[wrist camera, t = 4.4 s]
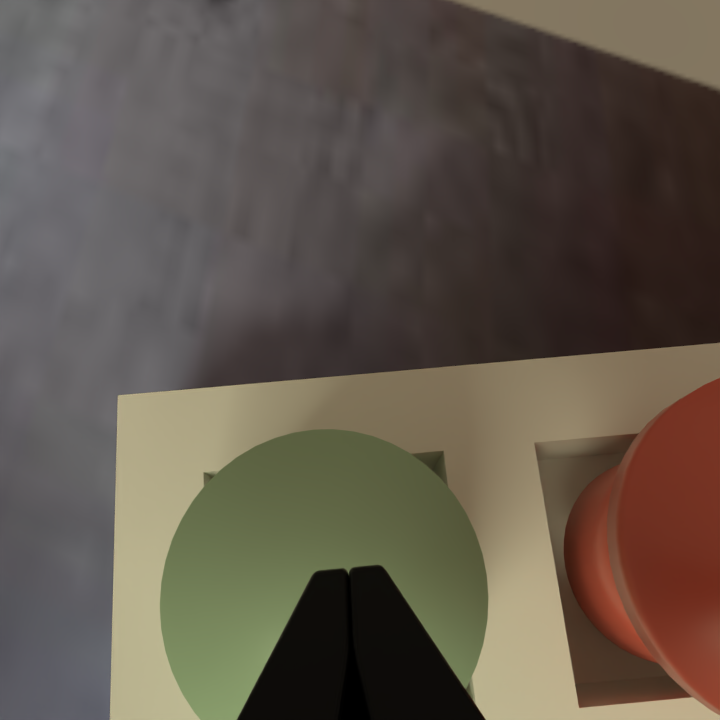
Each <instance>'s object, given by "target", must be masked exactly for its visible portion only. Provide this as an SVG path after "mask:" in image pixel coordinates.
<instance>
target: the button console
mask: <svg viewBox="0 0 720 720" xmlns="http://www.w3.org/2000/svg"><path fill="white" fill-rule="evenodd" d="M718 378H720V343H712V344H701V345H689V346H678V347H666V348H655V349H644V350H632V351H621V352H609V353H598V354H586V355H575V356H564V357H552V358H541V359H529V360H518V361H506V362H495V363H483V364H472V365H461V366H449V367H438V368H426V369H415V370H403V371H392V372H381V373H369V374H358V375H346V376H335V377H323V378H312V379H300V380H289V381H278V382H266V383H255V384H243V385H232V386H220V387H209V388H198V389H186V390H175V391H163V392H152V393H140V394H129V395H118V413H117V453H116V494H115V535H114V575H113V616H112V657H111V697H110V720H200V719H199V717H198V716H197V715H196V714H195V713H194V711H193V710H192V708H191V706H190V705H189V703H188V702H187V700H186V699H185V697H184V696H183V694H182V692H181V690H180V688H179V686H178V684H177V682H176V680H175V677H174V675H173V673H172V670H171V667H170V664H169V661H168V658H167V655H166V652H165V647H164V641H163V636H162V631H161V619H160V593H161V581H162V576H163V571H164V565H165V560H166V557H167V554H168V551H169V548H170V545H171V541H172V539H173V536H174V534H175V532H176V530H177V528H178V526H179V523H180V521H181V519H182V517H183V516H184V514H185V513H186V511H187V509H188V508H189V506H190V504H191V503H192V501H193V500H194V499H195V497H196V496H197V495H198V494H199V492H200V491H201V490H202V489H203V487H204V486H205V485H206V484H207V483H208V482H209V481H210V480H211V479H212V478H213V477H214V476H215V475H216V474H217V473H218V472H219V471H220V470H221V469H222V468H223V467H225V466H226V465H227V464H229V463H230V462H231V461H233V460H234V459H235V458H236V457H238V456H240V455H241V454H243V453H245V452H246V451H248V450H250V449H251V448H253V447H255V446H257V445H259V444H262V443H264V442H266V441H269V440H271V439H273V438H277V437H280V436H283V435H287V434H290V433H294V432H301V431H307V430H319V429H336V430H346V431H354V432H358V433H362V434H367V435H371V436H374V437H377V438H379V439H382V440H384V441H387V442H390V443H392V444H394V445H396V446H398V447H399V448H401V449H403V450H405V451H407V452H409V453H410V454H412V455H413V456H414V457H416V458H417V459H419V460H420V461H421V462H423V463H424V464H426V465H427V466H428V467H429V468H430V469H431V470H432V471H433V472H434V473H435V474H436V475H438V476H439V477H440V478H441V479H442V481H443V482H444V483H445V484H446V485H447V487H448V488H449V489H450V490H451V491H452V492H453V494H454V495H455V496H456V498H457V500H458V501H459V503H460V504H461V506H462V507H463V509H464V510H465V512H466V514H467V516H468V518H469V520H470V522H471V524H472V526H473V528H474V531H475V533H476V536H477V539H478V542H479V545H480V548H481V551H482V554H483V559H484V564H485V569H486V574H487V584H488V598H489V599H488V619H487V626H486V632H485V638H484V643H483V647H482V650H481V653H480V656H479V660H478V663H477V666H476V668H475V671H474V673H473V675H472V677H471V679H470V682H469V684H468V686H467V688H466V691H467V692H468V694H469V695H470V697H471V698H472V700H473V701H474V703H475V704H476V706H477V707H478V709H479V710H480V712H481V713H482V715H483V716H484V718H485V719H486V720H720V715H718V714H716V713H715V712H713V711H711V710H710V709H708V708H707V707H706V706H704V705H703V704H702V703H700V702H699V701H697V700H696V699H695V698H693V697H692V696H691V695H689V694H688V693H687V692H686V691H685V690H684V689H683V688H682V687H681V686H680V685H678V684H677V683H676V682H675V681H674V680H673V679H672V678H671V677H670V676H669V675H668V674H667V673H666V672H665V670H664V669H663V668H662V667H661V666H660V665H659V664H658V663H654V662H651V661H648V660H644V659H642V658H639V657H637V656H635V655H632V654H630V653H628V652H627V651H625V650H623V649H621V648H619V647H618V646H617V645H615V644H614V643H613V642H611V641H610V640H609V639H607V638H606V637H605V636H604V635H603V634H602V633H601V632H600V631H599V630H598V629H597V628H596V627H595V626H594V625H593V624H592V622H591V621H590V620H589V619H588V618H587V616H586V615H585V613H584V612H583V610H582V609H581V607H580V606H579V604H578V602H577V600H576V598H575V596H574V594H573V591H572V589H571V586H570V583H569V581H568V577H567V573H566V568H565V561H564V535H565V528H566V524H567V521H568V517H569V514H570V512H571V510H572V507H573V505H574V503H575V502H576V500H577V498H578V497H579V495H580V494H581V492H582V491H583V490H584V489H585V488H586V486H587V485H588V484H589V483H590V482H592V481H593V480H594V479H595V478H596V477H597V476H599V475H600V474H602V473H603V472H605V471H606V470H608V469H610V468H612V467H615V466H617V465H619V464H621V461H622V459H623V457H624V455H625V453H626V452H627V450H628V448H629V447H630V445H631V444H632V442H633V440H634V439H635V438H636V436H637V435H638V434H639V433H640V432H641V430H642V429H643V428H644V427H645V426H646V425H647V423H648V422H650V421H651V420H652V419H653V418H654V417H655V416H656V415H658V414H659V413H660V412H661V411H662V410H664V409H665V408H667V407H668V406H670V405H671V404H673V403H674V402H676V401H678V400H679V399H681V398H683V397H684V396H686V395H688V394H689V393H691V392H693V391H695V390H696V389H698V388H700V387H701V386H703V385H705V384H707V383H709V382H712V381H714V380H716V379H718Z"/></svg>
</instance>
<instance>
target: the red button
mask: <svg viewBox="0 0 720 720" xmlns="http://www.w3.org/2000/svg"><path fill="white" fill-rule="evenodd" d="M564 561H565V568H566V573H567V577H568V581H569V583H570V586H571V589H572V591H573V594H574V596H575V598H576V600H577V602H578V604H579V606H580V607H581V609H582V610H583V612H584V613H585V615H586V616H587V618H588V619H589V620H590V621H591V622H592V624H593V625H594V626H595V627H596V628H597V629H598V630H599V631H600V632H601V633H602V634H603V635H604V636H605V637H606V638H607V639H609V640H610V641H611V642H613V643H614V644H615V645H617V646H618V647H619V648H621V649H623V650H625V651H627V652H628V653H630V654H632V655H635V656H637V657H639V658H642V659H644V660H648V661H651V662H654V663H658V664H659V665H660V666H661V667H662V668H663V669H664V670H665V672H666V673H667V674H668V675H669V676H670V677H671V678H672V679H673V680H674V681H675V682H676V683H677V684H678V685H680V686H681V687H682V688H683V689H684V690H685V691H686V692H687V693H688V694H689V695H691V696H692V697H693V698H695V699H696V700H697V701H699V702H700V703H702V704H703V705H704V706H706V707H707V708H708V709H710V710H711V711H713V712H715V713H716V714H718V715H720V378H718V379H716V380H714V381H712V382H709V383H707V384H705V385H703V386H701V387H700V388H698V389H696V390H695V391H693V392H691V393H689V394H688V395H686V396H684V397H683V398H681V399H679V400H678V401H676V402H674V403H673V404H671V405H670V406H668V407H667V408H665V409H664V410H662V411H661V412H660V413H659V414H658V415H656V416H655V417H654V418H653V419H652V420H651V421H650V422H648V423H647V425H646V426H645V427H644V428H643V429H642V430H641V432H640V433H639V434H638V435H637V436H636V438H635V439H634V440H633V442H632V444H631V445H630V447H629V448H628V450H627V452H626V453H625V455H624V457H623V459H622V461H621V464H619V465H617V466H615V467H612V468H610V469H608V470H606V471H605V472H603V473H602V474H600V475H599V476H597V477H596V478H595V479H594V480H593V481H592V482H590V483H589V484H588V485H587V486H586V488H585V489H584V490H583V491H582V492H581V494H580V495H579V497H578V498H577V500H576V502H575V503H574V505H573V507H572V510H571V512H570V514H569V517H568V521H567V524H566V528H565V535H564Z"/></svg>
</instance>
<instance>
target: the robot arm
mask: <svg viewBox="0 0 720 720" xmlns="http://www.w3.org/2000/svg"><path fill="white" fill-rule="evenodd" d="M237 720H486V719H485V718H484V716H483V715H482V713H481V712H480V710H479V709H478V707H477V706H476V704H475V703H474V701H473V700H472V698H471V697H470V695H469V694H468V692H467V691H466V689H465V688H464V686H463V685H462V683H461V682H460V680H459V679H458V677H457V676H456V674H455V673H454V671H453V670H452V668H451V667H450V665H449V664H448V662H447V661H446V659H445V658H444V656H443V655H442V653H441V652H440V650H439V649H438V647H437V646H436V644H435V643H434V641H433V640H432V638H431V637H430V635H429V634H428V632H427V631H426V629H425V628H424V626H423V625H422V623H421V622H420V620H419V619H418V617H417V616H416V614H415V613H414V611H413V610H412V608H411V607H410V605H409V604H408V602H407V601H406V599H405V598H404V596H403V595H402V593H401V592H400V590H399V589H398V587H397V586H396V584H395V583H394V581H393V580H392V578H391V577H390V575H389V574H388V572H387V571H386V569H385V568H384V567H383V566H381V565H369V566H359V567H353V568H351V569H350V571H349V574H348V571H347V570H346V569H344V568H338V569H328V570H318V571H316V572H314V573H313V575H312V576H311V578H310V580H309V581H308V583H307V585H306V587H305V589H304V591H303V593H302V595H301V597H300V599H299V601H298V603H297V605H296V607H295V608H294V610H293V612H292V614H291V616H290V618H289V620H288V622H287V624H286V626H285V628H284V630H283V632H282V633H281V635H280V637H279V639H278V641H277V643H276V645H275V647H274V649H273V651H272V653H271V655H270V657H269V658H268V660H267V662H266V664H265V666H264V668H263V670H262V672H261V674H260V676H259V678H258V680H257V682H256V683H255V685H254V687H253V689H252V691H251V693H250V695H249V697H248V699H247V701H246V703H245V705H244V707H243V708H242V710H241V712H240V714H239V716H238V718H237Z"/></svg>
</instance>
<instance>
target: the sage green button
mask: <svg viewBox="0 0 720 720" xmlns="http://www.w3.org/2000/svg"><path fill="white" fill-rule="evenodd" d="M369 565H381V566H383V567H384V568H385V569H386V571H387V572H388V574H389V575H390V577H391V578H392V580H393V581H394V583H395V584H396V586H397V587H398V589H399V590H400V592H401V593H402V595H403V596H404V598H405V599H406V601H407V602H408V604H409V605H410V607H411V608H412V610H413V611H414V613H415V614H416V616H417V617H418V619H419V620H420V622H421V623H422V625H423V626H424V628H425V629H426V631H427V632H428V634H429V635H430V637H431V638H432V640H433V641H434V643H435V644H436V646H437V647H438V649H439V650H440V652H441V653H442V655H443V656H444V658H445V659H446V661H447V662H448V664H449V665H450V667H451V668H452V670H453V671H454V673H455V674H456V676H457V677H458V679H459V680H460V682H461V683H462V685H463V686H464V688H465V689H466V688H467V686H468V684H469V682H470V679H471V677H472V675H473V673H474V671H475V668H476V666H477V663H478V660H479V656H480V653H481V650H482V647H483V643H484V638H485V632H486V626H487V619H488V599H489V598H488V584H487V574H486V569H485V564H484V559H483V554H482V551H481V548H480V545H479V542H478V539H477V536H476V533H475V531H474V528H473V526H472V524H471V522H470V520H469V518H468V516H467V514H466V512H465V510H464V509H463V507H462V506H461V504H460V503H459V501H458V500H457V498H456V496H455V495H454V494H453V492H452V491H451V490H450V489H449V488H448V487H447V485H446V484H445V483H444V482H443V481H442V479H441V478H440V477H439V476H438V475H436V474H435V473H434V472H433V471H432V470H431V469H430V468H429V467H428V466H427V465H426V464H424V463H423V462H421V461H420V460H419V459H417V458H416V457H414V456H413V455H412V454H410V453H409V452H407V451H405V450H403V449H401V448H399V447H398V446H396V445H394V444H392V443H390V442H387V441H384V440H382V439H379V438H377V437H374V436H371V435H367V434H362V433H358V432H354V431H346V430H336V429H319V430H307V431H301V432H294V433H290V434H287V435H283V436H280V437H277V438H273V439H271V440H269V441H266V442H264V443H262V444H259V445H257V446H255V447H253V448H251V449H250V450H248V451H246V452H245V453H243V454H241V455H240V456H238V457H236V458H235V459H234V460H233V461H231V462H230V463H229V464H227V465H226V466H225V467H223V468H222V469H221V470H220V471H219V472H218V473H217V474H216V475H215V476H214V477H213V478H212V479H211V480H210V481H209V482H208V483H207V484H206V485H205V486H204V487H203V489H202V490H201V491H200V492H199V494H198V495H197V496H196V497H195V499H194V500H193V501H192V503H191V504H190V506H189V508H188V509H187V511H186V513H185V514H184V516H183V517H182V519H181V521H180V523H179V526H178V528H177V530H176V532H175V534H174V536H173V539H172V541H171V545H170V548H169V551H168V554H167V557H166V560H165V565H164V571H163V576H162V581H161V593H160V619H161V631H162V636H163V641H164V647H165V652H166V655H167V658H168V661H169V664H170V667H171V670H172V673H173V675H174V677H175V680H176V682H177V684H178V686H179V688H180V690H181V692H182V694H183V696H184V697H185V699H186V700H187V702H188V703H189V705H190V706H191V708H192V710H193V711H194V713H195V714H196V715H197V716H198V717H199V719H200V720H237V718H238V716H239V714H240V712H241V710H242V708H243V707H244V705H245V703H246V701H247V699H248V697H249V695H250V693H251V691H252V689H253V687H254V685H255V683H256V682H257V680H258V678H259V676H260V674H261V672H262V670H263V668H264V666H265V664H266V662H267V660H268V658H269V657H270V655H271V653H272V651H273V649H274V647H275V645H276V643H277V641H278V639H279V637H280V635H281V633H282V632H283V630H284V628H285V626H286V624H287V622H288V620H289V618H290V616H291V614H292V612H293V610H294V608H295V607H296V605H297V603H298V601H299V599H300V597H301V595H302V593H303V591H304V589H305V587H306V585H307V583H308V581H309V580H310V578H311V576H312V575H313V573H314V572H316V571H318V570H328V569H338V568H344V569H346V570H347V571H348V574H349V571H350V569H351V568H353V567H359V566H369Z"/></svg>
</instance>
